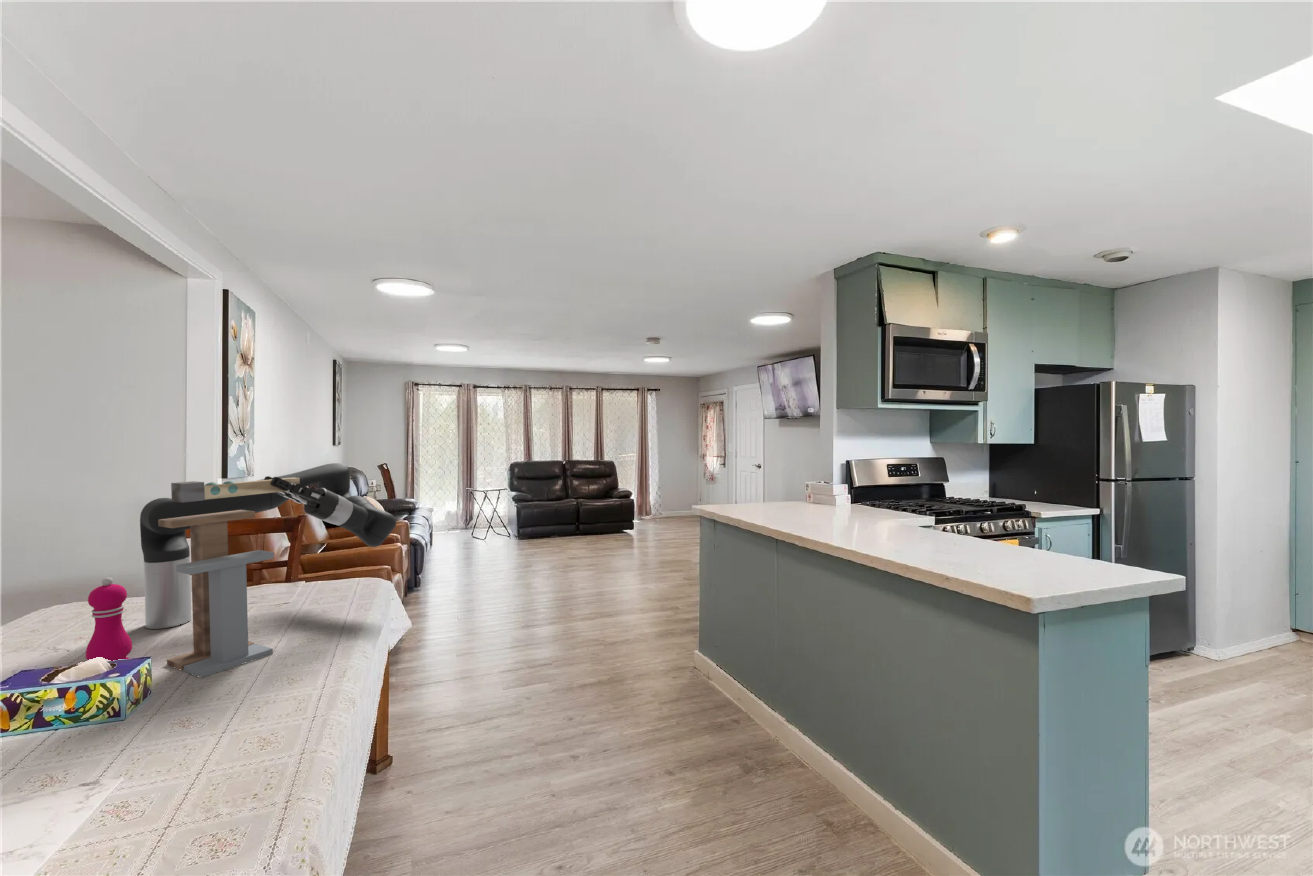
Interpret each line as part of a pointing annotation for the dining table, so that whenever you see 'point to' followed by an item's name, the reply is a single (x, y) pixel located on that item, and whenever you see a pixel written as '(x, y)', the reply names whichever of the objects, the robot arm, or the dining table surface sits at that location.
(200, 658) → the tall stand
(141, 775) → the dining table surface
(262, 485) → the teal-dotted wooden beam
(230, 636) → the low stand
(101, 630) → the pepper mill
